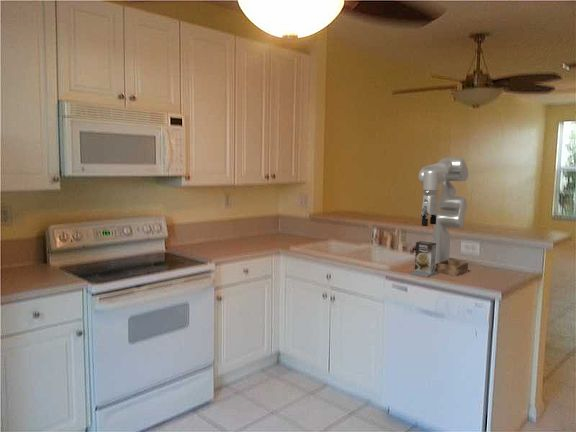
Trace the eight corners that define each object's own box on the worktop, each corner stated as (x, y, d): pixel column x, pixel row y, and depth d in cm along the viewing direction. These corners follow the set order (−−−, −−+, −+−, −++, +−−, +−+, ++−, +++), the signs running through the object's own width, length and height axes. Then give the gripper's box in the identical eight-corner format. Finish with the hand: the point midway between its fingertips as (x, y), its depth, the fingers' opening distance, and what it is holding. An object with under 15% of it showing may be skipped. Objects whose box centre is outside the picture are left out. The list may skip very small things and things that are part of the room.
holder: (435, 272, 245) (436, 263, 244) (446, 268, 255) (446, 259, 255) (457, 276, 237) (458, 266, 236) (467, 271, 247) (468, 262, 246)
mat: (410, 273, 240) (410, 272, 240) (420, 270, 249) (420, 268, 249) (427, 277, 233) (428, 275, 233) (437, 273, 242) (437, 271, 242)
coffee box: (414, 271, 242) (415, 242, 240) (419, 269, 246) (420, 240, 245) (430, 274, 236) (431, 244, 234) (435, 272, 241) (436, 242, 239)
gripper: (429, 194, 228) (428, 227, 230) (444, 192, 240) (442, 224, 243) (416, 193, 233) (414, 226, 235) (431, 192, 246) (429, 222, 248)
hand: (428, 225), depth 239 cm, fingers open, 9 cm apart
